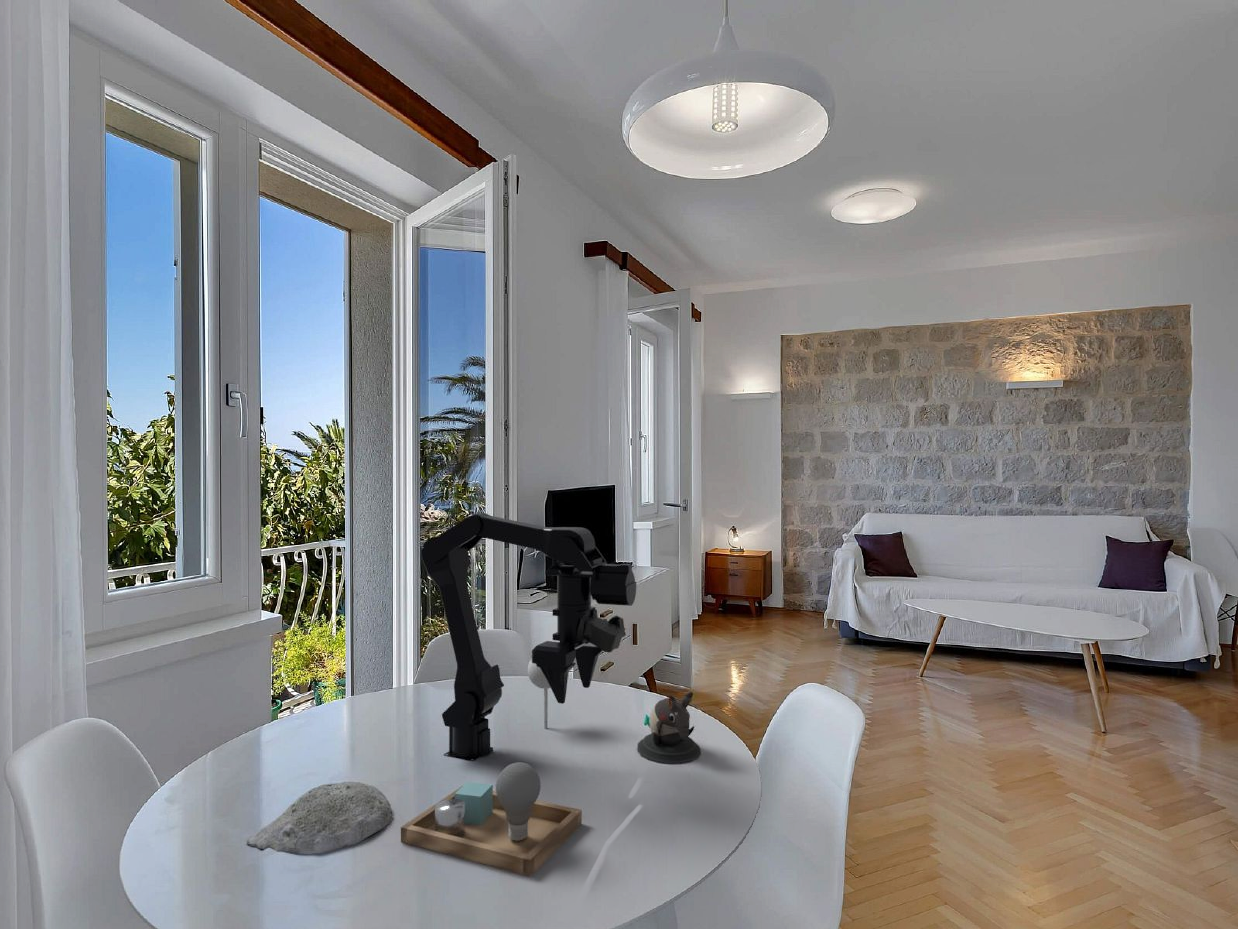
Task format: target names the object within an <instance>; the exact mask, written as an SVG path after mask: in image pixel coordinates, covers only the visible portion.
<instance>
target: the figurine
mask: <svg viewBox="0 0 1238 929" xmlns="http://www.w3.org/2000/svg"><path fill="white" fill-rule="evenodd" d="M693 695H694V692H691V691H690V692H688V693H686V694H685V695H683V697H682V699H681V700H678V699H677V698H675V697H674V696H673V695H671V694H670V695H668V697H666V698H664V699H661V700H659V701H658V702H657V703H655V705H654V706H653V707H652V709H651V712H650V715H648V714H645V715H644V717H645V718H644V721H643V724H644V726H648V727H649V728H650V732H651V733H649V734H646V735H645V736H644V737H643V738H641V739H640V740H639V742H638V743H637V748H636V751H637V752H638V754H639V755H640V756H641V757H642V758H644V759H646V760H647V761H650V762H654V763H657V764H663V765H664V764H665V765H682V764H687V763H691V762H694V761H695V760H698V758H699V757H700V756H701V753H702V751H701V747H700V745H699V744H698V743H697V742H695V741H694V740H693V739H692V737H689V736H690V735H691V734H692V733H693V731H694V730H695V725H693V726H692V727H691V728H690V718H691V714H690V712H689V711H688V709H687V708H688V707H689V705H690V703H691V701H692V699H693Z"/></svg>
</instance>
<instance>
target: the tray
mask: <svg viewBox="0 0 1238 929" xmlns="http://www.w3.org/2000/svg"><path fill="white" fill-rule="evenodd" d="M461 787H462V786H460V787H459V788H457V789H456V790H454V791H453V792H451V793H450V794H448V795H447V796H445V797H444V798H442V799H440V800H439V801H438V802H436V803H435V804H433V805H432V806H430V807H429V808H427V809H426V810H424V811H423V812H421V813H420V814H418V815H416V816H415V817H414V818H413V819H411V820H410V821H408V822H406V823H405V824H403V825H402V826H400V843H404V844H408V845H411V846H415V847H419V848H423V849H427V850H429V851H434V852H437V853H441V854H445V855H449V856H452V857H456V858H460V859H463V860H467V861H471V862H475V863H478V864H483V865H487V866H490V867H494V868H497V869H501V870H505V871H509V872H512V873H517V874H521V875H524V876H527V877H531V876H532V875H533V874H534V873H535V872H536V871H537V870H538V869H539V868H540V867H541V866H542V865H543V864H544V862H546V861H547V860H548V859H549V858H550V856H552V855H553V854H554V853H555V852H556V850H558V849H559V848H560V846H561V845H562V844H563V843H564V842H565V841H566V840H567V839H569V837H570V836H571V835H572V834H574V832H576V831H577V829H578V828H579V827H580V826H581V825H582V815H583V814H582V809H580V808H579V809H578V808H574V807H569V806H565V805H561V804H560V805H559V804H556V803H551V802H546V801H540V800H538V799H537V800H536V802H535V803H534V805H533V807H532V809H531V815H530V818H529V820H528V836H527V837H526V838H524V839H522V840H520V841H515V840H512V839H510V838H509V823H508V821H507V819H506V812H505V810H504V808H503V806H502V805H501V803H500V801H499V800H498V797H497V794H496V790H495V791H494V790H493V812H492V813H491V815H490V816H489V817H488V818H487V819H486V820H485V821H484V822H483V824H482V825H473V824H465V835H464V837H463V838H460V837H456V836H452V835H448V834H445V833H441V832H437V831H435V805H436V804H437V803H439V802H441V801H443V800H447V799H455V793H456V792H457V791H458V790H459V789H460V788H461Z"/></svg>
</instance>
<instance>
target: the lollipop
mask: <svg viewBox="0 0 1238 929" xmlns="http://www.w3.org/2000/svg"><path fill="white" fill-rule="evenodd" d="M527 676H528V679H529V681H530V682H531V683H532V684H533V685H534V686H535V687H537V688H539V689H544V690H543V694H544V695H543V699H544V700H543V701H544V702H543V703H544V704H543V705H544V706H543V707H544V710H543V711H544V712H543V719H544V720H543V724H544V725H543V729H547V730H548V716H549V715H548V713H549V712H548V703H549V702H548V696H549V695H548V694H549V693H548V689H551V687H550V685H549V683H548V681H547V679H546V677H545V676H544V674H543V672H542V670H541V669H540V667H537V666H536V664H534V663H532V658H531V659H530V660H529V663H528V666H527Z"/></svg>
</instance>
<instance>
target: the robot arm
mask: <svg viewBox="0 0 1238 929" xmlns="http://www.w3.org/2000/svg"><path fill="white" fill-rule="evenodd" d="M483 539H488V540H493V541H497V542H501V543H506V544H511V545H515V546H520V547H525V548H528V549H533V550H535V551H537V552H540V553H542V554H543V555H544V556H546V557H547V558H550V559H552V560H555V561H554V562H553V563H552V565H551V566H550V567H549V568H548V569H547V570H545V572H544V574H545V575H546V576H548V577H549V576H552V577H554V576H556V577H557V578H556V579H557V581H556V582H557V589H556V590H557V594H556V595H557V600H556V601H557V607H556V608H554V609H553V608H552V616H555V617H556V618H557V621H556V622H557V626H556V628H557V630H556V631H557V632H555V633H552V640H553V641H551V640H546V641H544V642H542V643H539V644H537V645H536V646H534V648H533V649H531V659H532V663H534V664H536V666H537V667H540V669H541V670H542V672H543V674H544V676H545V677H546V679H547V681H548V683H549V685H550V687H551V688H550V689H551V691H552V693H553V696H554V697H555V700H556V702H557V703H558V704H565V702H566V697H567V689H568V680H569V679H568V678H569V672H570V671H571V670H572V669H573V668H574V667H575V666H577V669H578V674H579V678H580V682H581V684H582V687H583V688H586V689H589V688H590V686H591V683H592V680H593V675H594V672H595V668H596V665H597V662H598V659H599V657H600V655H601V654H602V653H603V652H606V653H612V652H613V651H614V650H615V649H616V650H617V649H619V647H620V645H621V642H622V638H624V637H625V636H626V634H627V633H626V632H625V631H626V628H625V623H624V618H622V617H620V615H619V616H618V615H615V616H612V617H611V618H610V619H609V620H608V619H607V618H604V619H603V618H600V617H599V616H598V609H596V608H597V607H596V606H592V600H594V601H595V602H596V603H597V604H598V605H609V606H610V605H611V606H613V605H614V606H625V607H626V606H629V607H630V606H633V604H634V603H635V601H636V600H635V599H636V594H637V581H636V577H635V574H634V572H633V564H632V563H621V564H612V563H611V564H609V563H608V562H607V560H606V559H605V557H604V556H603V555H602V553H601V552H600V550H599V548H597V546H596V541H595V537H594V535H593V534H592V531H590V530H589V529H588V528H585V527H579V526H578V527H577V526H572V527H571V526H570V527H569V526H568V527H567V526H562V527H561V526H557V527H556V526H554V527H552V526H551V527H550V526H549V527H546V526H541V525H536V524H532V523H528V522H522V521H518V520H514V519H508V518H504V517H499V516H495V515H494V516H493V515H490V514H488V513H487V512H486V513H485V512H479V513H472V514H469V515H468V516H466V517H465V518H464V519H463V520H462V521H460V522H459V523H457V524H455V525H454V526H452V527H450V528H448V529H446V530H445V531H443V532H441V533H440V534H439V535H437V536H431V537H429V538H428V539H426V540H425V542H424V544H423V545H422V546H421V548H420V557H421V560H422V562H423V564H424V568H425V570H426V572H427V575H428V576H429V577H430V579H432V581H433V582H434V583H435V584H436V586H437V587H438V590H439V592H440V597H441V601H442V606H443V610H444V615H445V618H446V623H447V626H448V627H447V628H448V632H449V637H450V641H451V645H452V649H453V653H454V658H455V662H456V672H455V677H454V682H453V691H454V692H453V693H454V702H453V703H452V704H450V705H449V707H448V708H446V709H445V710H444V712H442V714H441V717H442V721H443V724H444V726H445V727H448V729H449V730H448V743H449V744H448V751H447V752H445V753H444V754H443V756H444V757H448V758H454V759H458V760H463V761H467V762H468V761H469V762H474V761H476V760H478V759H480V758H485V757H486V756H487V755H489V754H491V753H492V752H493V751H494V747H493V746H491V728H489V718H486V717H487V716H488V715H491V714H492V712H493V710H494V707H495V706H496V705H497V704H498V703H499V702H500V701H501V700H500V699H501V698H502V697H503V696H502V695H503V689H502V688H503V687H504V686H505V684H504V682H503V681H502V678H501V672H500V667H499V664H494V665H492V666H491V664H490V663H489V662H488V661H487V660H486V658H485V656H484V652H483V646H482V643H481V639H480V635H479V630H478V626H477V621H476V618H475V614H474V609H473V605H472V601H471V597H470V593H469V588H468V585H467V577H468V572H469V571H468V570H469V567H470V566H469V565H470V558H469V552H470V551H471V550H473V548H475V547H477V546H478V544H479V543H480V542H481V541H482V540H483ZM575 661H576V662H575Z"/></svg>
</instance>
